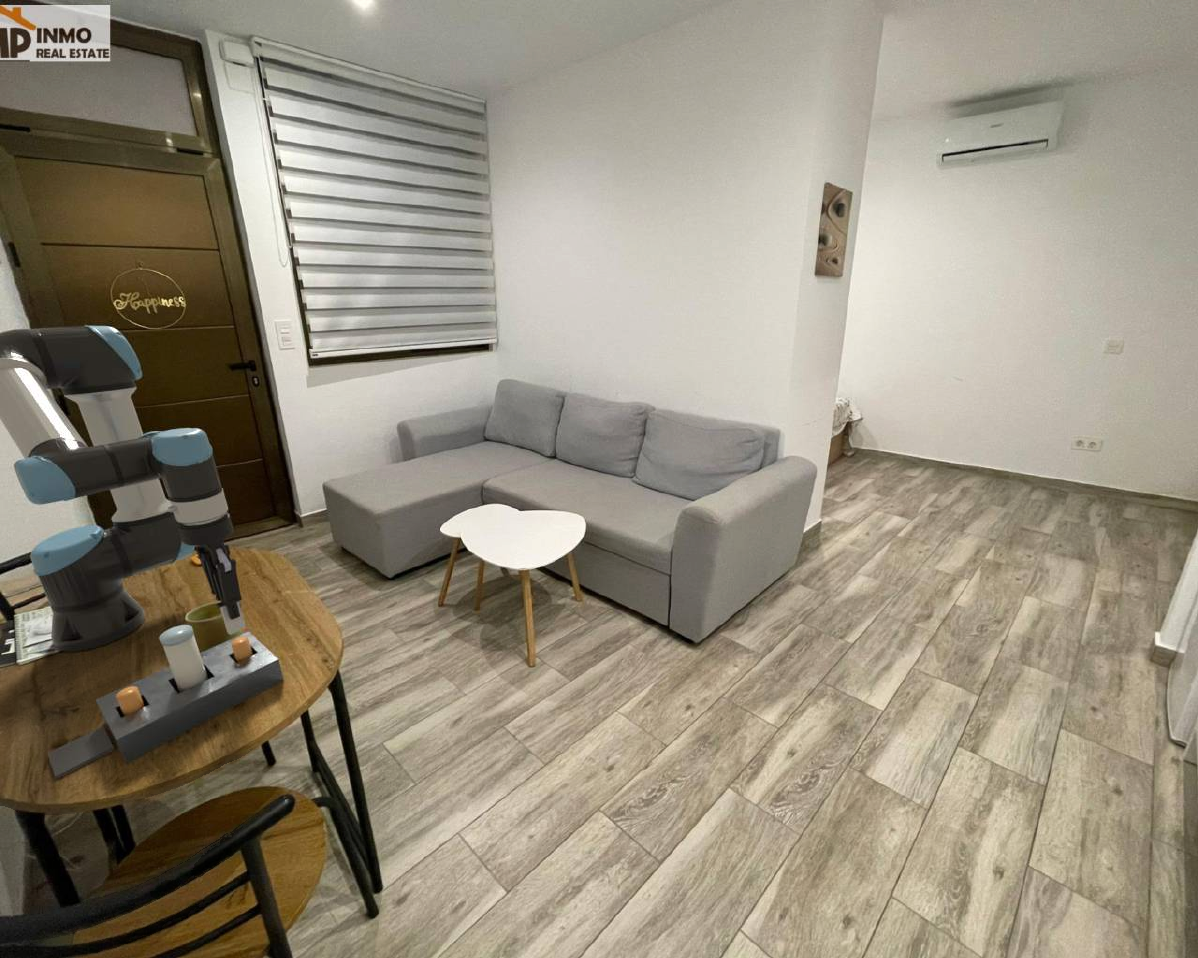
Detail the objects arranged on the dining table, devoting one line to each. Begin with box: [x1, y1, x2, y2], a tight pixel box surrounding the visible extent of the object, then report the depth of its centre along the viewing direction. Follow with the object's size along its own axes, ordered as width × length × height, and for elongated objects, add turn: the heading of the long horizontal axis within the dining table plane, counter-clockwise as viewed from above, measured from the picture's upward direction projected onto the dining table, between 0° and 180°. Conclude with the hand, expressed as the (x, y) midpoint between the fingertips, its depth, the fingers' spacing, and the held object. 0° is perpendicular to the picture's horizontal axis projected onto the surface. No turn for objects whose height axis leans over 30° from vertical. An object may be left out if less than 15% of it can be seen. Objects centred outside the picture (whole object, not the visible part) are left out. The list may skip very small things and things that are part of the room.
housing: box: [95, 631, 284, 764], centre depth 97 cm, size 14×24×5 cm, turn 142°
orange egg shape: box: [231, 637, 253, 663], centre depth 102 cm, size 3×3×6 cm
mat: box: [47, 726, 116, 780], centre depth 86 cm, size 7×7×1 cm
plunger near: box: [116, 686, 145, 717], centre depth 89 cm, size 3×3×6 cm
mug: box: [184, 600, 243, 653], centre depth 113 cm, size 12×10×10 cm
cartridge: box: [158, 624, 208, 693], centre depth 95 cm, size 5×5×15 cm
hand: (236, 629), depth 100 cm, fingers closed
